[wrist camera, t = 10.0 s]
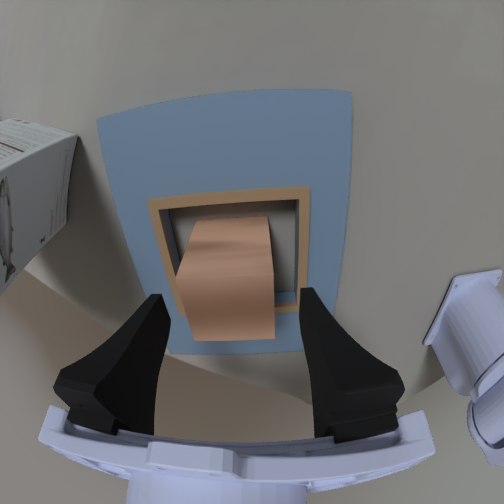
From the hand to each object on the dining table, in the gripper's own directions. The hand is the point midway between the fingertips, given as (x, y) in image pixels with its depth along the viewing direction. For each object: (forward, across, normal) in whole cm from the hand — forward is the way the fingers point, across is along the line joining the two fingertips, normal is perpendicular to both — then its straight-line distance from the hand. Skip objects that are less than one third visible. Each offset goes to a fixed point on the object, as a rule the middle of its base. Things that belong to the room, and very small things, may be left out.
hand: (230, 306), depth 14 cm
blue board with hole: (+5, 0, 0) cm, 5 cm away
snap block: (+6, 0, 0) cm, 6 cm away
